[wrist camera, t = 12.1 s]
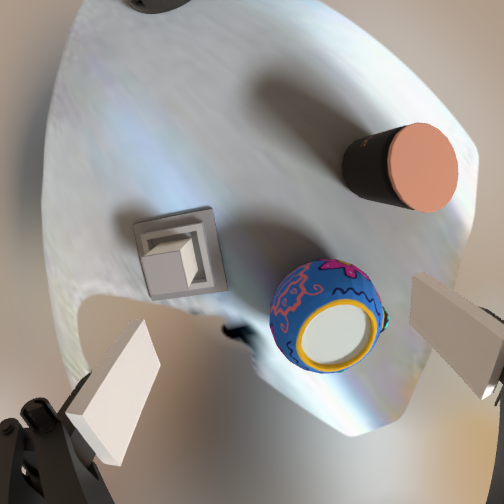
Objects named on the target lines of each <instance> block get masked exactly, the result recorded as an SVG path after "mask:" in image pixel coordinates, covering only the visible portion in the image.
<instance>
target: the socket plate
mask: <svg viewBox="0 0 504 504" xmlns="http://www.w3.org/2000/svg"><path fill="white" fill-rule="evenodd" d="M133 229H134V234H135V238H136V242H137V247H138V251H139V255H140V259H141V263H142V267H143V271H144V274H145V278H146V282H147V285H148V281H147V277H146V273H145V269H144V265H143V261H142V257H143V256H145V255H146V254H147V253H148V252H150V251H151V250H152V249H153V248H155V247H156V246H157V245H159V244H160V243H164V242H170V241H176V240H182V239H188V238H192V243H193V248H194V253H195V258H196V263H197V268H198V271H197V273H196V274H195V276H194V278H193V280H192V282H191V284H190V286H189V289H188V290H184V291H177V292H169V293H161V294H153V295H151V292H150V288H149V285H148V289H149V292H150V296H151V299H152V301H155V300H163V299H171V298H178V297H186V296H193V295H201V294H208V293H215V292H222V291H228V287H227V282H226V277H225V272H224V267H223V262H222V257H221V252H220V246H219V241H218V236H217V231H216V225H215V220H214V214H213V209H207V210H202V211H196V212H191V213H186V214H180V215H175V216H170V217H165V218H160V219H155V220H151V221H146V222H141V223H136V224H133Z"/></svg>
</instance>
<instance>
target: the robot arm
mask: <svg viewBox="0 0 504 504" xmlns="http://www.w3.org/2000/svg"><path fill="white" fill-rule="evenodd" d="M128 1H129V3H130V4H131V6H132V7H133V8H134V9H135V10H137V11H139V12H142V13H147V14H156V13H163V12H167V11H170V10H173V9H176V8H178V7H180V6H182V5H184V4H186V3H187V2H189V1H190V0H128ZM409 324H410V325H411V326H412V327H413V328H414V329H415V330H416V331H417V332H418V333H419V334H420V335H421V336H422V337H423V338H424V339H425V340H426V341H427V342H428V343H429V344H430V345H431V346H432V347H433V348H434V349H435V350H436V351H437V352H438V354H439V355H440V356H441V357H442V358H443V359H444V360H445V361H446V362H447V363H448V364H449V365H450V366H451V367H452V368H453V369H454V370H455V372H456V373H457V374H458V375H459V376H460V377H461V378H462V379H463V380H464V382H465V383H466V384H467V385H468V386H469V387H470V388H471V389H472V390H473V392H474V393H475V394H476V395H477V396H478V397H479V398H480V400H482V399H484V398H485V397H487V396H489V395H490V394H492V393H494V391H495V388H496V386H497V384H498V381H500V382H501V383H502V384H503V386H502V388H501V391H500V393H499V395H498V397H497V400H496V402H495V406H497V404H498V402H499V400H500V423H499V434H498V444H497V451H496V458H495V465H494V471H493V475H492V480H491V485H490V490H489V494H488V498H487V501H486V504H504V320H501V318H499V317H498V316H495V314H494V313H492V312H491V311H489V310H487V309H484V308H481V307H479V306H477V305H475V304H474V303H472V302H471V301H469V300H468V299H466V298H465V297H463V296H461V295H460V294H458V293H457V292H455V291H454V290H452V289H451V288H449V287H447V286H446V285H444V284H443V283H441V282H439V281H438V280H436V279H435V278H433V277H431V276H430V275H428V274H426V273H425V272H423V273H419V274H415V275H412V294H411V309H410V320H409ZM160 366H161V365H160V362H159V360H158V357H157V355H156V352H155V349H154V346H153V344H152V341H151V338H150V335H149V332H148V330H147V327H146V324H145V321H144V319H141V320H130V322H129V323H128V324H127V326H126V327H125V328H124V330H123V331H122V332H121V334H120V335H119V336H118V338H117V339H116V340H115V342H114V343H113V344H112V346H111V347H110V348H109V350H108V351H107V353H106V354H105V355H104V357H103V358H102V359H101V361H100V362H99V364H98V365H97V367H96V368H95V369H94V371H93V372H92V373H89V374H87V375H86V376H85V377H84V378H82V379H81V380H80V382H79V383H78V384H77V386H76V387H75V388H76V389H74V390H73V391H72V393H71V395H70V396H69V397H68V399H67V400H66V402H65V403H64V404H63V406H62V407H61V409H60V410H59V412H58V413H56V412H55V410H54V409H53V407H52V406H51V404H50V403H49V401H48V400H47V399H45V398H35V399H33V400H30V401H28V402H27V403H26V404H25V405H24V406H23V408H22V409H21V412H20V415H21V417H22V418H23V419H24V421H25V422H26V423H27V425H28V426H29V428H23V427H22V426H21V424H20V423H19V421H18V420H17V419H15V418H8V419H5V420H4V421H2V422H1V423H0V504H115V503H114V501H113V499H112V497H111V495H110V493H109V491H108V489H107V487H106V485H105V483H104V481H103V479H102V476H101V474H100V472H99V470H98V467H97V466H96V464H95V463H94V462H93V459H94V456H95V454H96V455H97V456H98V457H99V459H100V460H101V461H102V462H103V463H105V464H110V465H116V466H121V463H122V461H123V458H124V455H125V453H126V450H127V447H128V445H129V442H130V440H131V437H132V434H133V432H134V429H135V427H136V424H137V422H138V419H139V417H140V414H141V412H142V409H143V407H144V404H145V402H146V399H147V397H148V394H149V392H150V390H151V387H152V385H153V382H154V380H155V377H156V375H157V373H158V370H159V368H160ZM22 466H23V467H24V469H25V470H26V475H24V474H23V473H22V470H21V468H22Z"/></svg>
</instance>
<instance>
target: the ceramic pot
mask: <svg viewBox="0 0 504 504" xmlns="http://www.w3.org/2000/svg"><path fill="white" fill-rule="evenodd" d="M388 322H389V316H388V313H387V311H386V310H385V308H384V307H383V306H382V304H381V299H380V296H379V294H378V292H377V291H376V289H375V287H374V285H373V284H372V282H371V280H370V279H369V277H368V276H367V275H366V274H365V273H364V272H362V271H361V270H360V269H358V268H357V267H356V266H354V265H352V264H349V263H346V262H343V261H340V260H336V259H324V260H315V261H312V262H309V263H307V264H304V265H301V266H299V267H298V268H296V269H295V270H293V271H292V272H291V273H289V274H288V275H287V276H286V277H285V278H284V279H283V280H282V282H281V283H280V285H279V286H278V288H277V290H276V292H275V294H274V297H273V299H272V302H271V307H270V329H271V331H272V334H273V337H274V340H275V343H276V345H277V346H278V348H279V349H280V351H281V352H282V353H283V354H284V355H285V356H286V358H287V359H288V360H289V361H290V362H292V363H294V364H295V365H297V366H299V367H300V368H302V369H304V370H308V371H312V372H317V373H338V372H343V371H345V370H346V369H348V368H349V367H351V366H353V365H355V364H357V363H358V362H360V361H361V360H362V359H363V358H364V357H365V356H367V354H368V353H369V352H370V351H371V350H372V348H373V347H374V345H375V343H376V341H377V339H378V337H379V334H380V333H381V332H383V331H384V330H385V329H386V327H387V325H388Z"/></svg>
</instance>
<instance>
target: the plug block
mask: <svg viewBox="0 0 504 504" xmlns="http://www.w3.org/2000/svg"><path fill="white" fill-rule="evenodd" d="M142 261H143V265H144V269H145V273H146V277H147V281H148V285H149V288H150V292H151V295H153V294H161V293H169V292H177V291H184V290H188V289H189V286H190V284H191V282H192V280H193V278H194V276H195V274H196V273H197V271H198V268H197V263H196V258H195V253H194V248H193V243H192V238H188V239H182V240H176V241H170V242H164V243H160V244H159V245H157V246H156V247H155V248H153V249H152V250H151V251H150V252H148V253H147V254H146V255H145V256H143V257H142Z"/></svg>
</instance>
